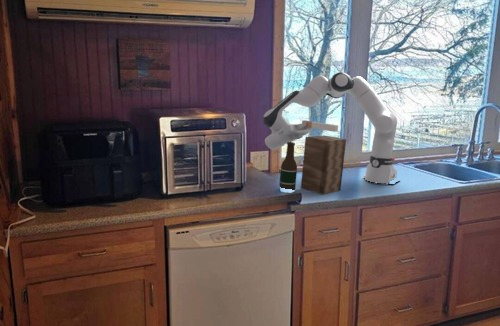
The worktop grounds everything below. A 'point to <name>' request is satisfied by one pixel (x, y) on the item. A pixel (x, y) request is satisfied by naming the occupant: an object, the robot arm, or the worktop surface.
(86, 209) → the worktop surface
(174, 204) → the worktop surface
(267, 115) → the robot arm
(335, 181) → the shelf
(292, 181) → the beer bottle
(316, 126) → the bar
